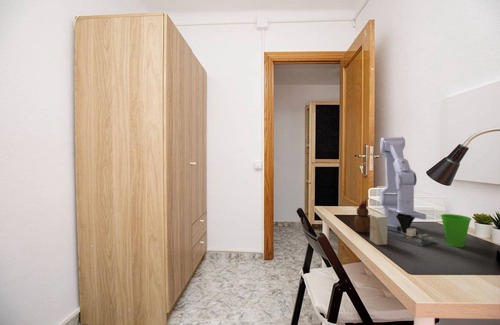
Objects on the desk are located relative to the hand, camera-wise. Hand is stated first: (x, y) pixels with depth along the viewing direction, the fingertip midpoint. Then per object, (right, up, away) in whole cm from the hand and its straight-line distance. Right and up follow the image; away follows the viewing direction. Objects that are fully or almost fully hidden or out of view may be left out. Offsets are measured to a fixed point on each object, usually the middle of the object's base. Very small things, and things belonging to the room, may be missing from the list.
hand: (405, 232), depth 98 cm
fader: (+1, -1, -2) cm, 2 cm away
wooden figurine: (-14, -3, +9) cm, 17 cm away
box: (-14, -3, -5) cm, 15 cm away
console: (0, -2, +1) cm, 3 cm away
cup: (+14, -3, -8) cm, 16 cm away
